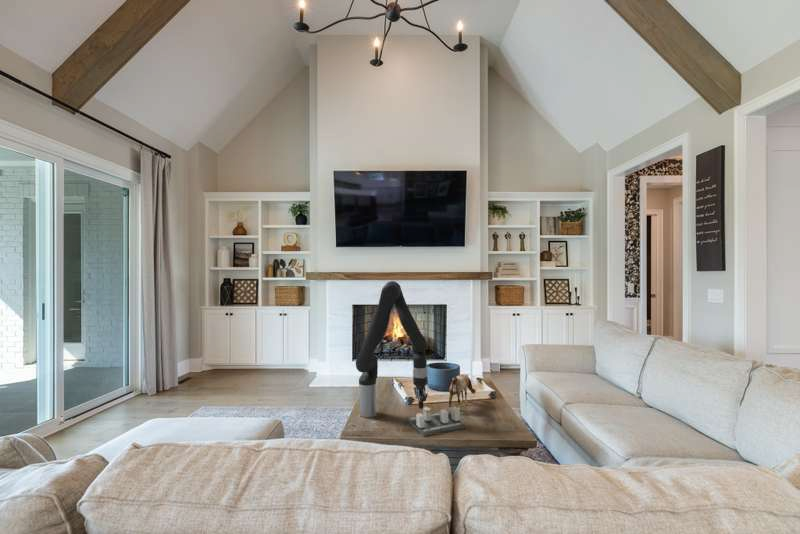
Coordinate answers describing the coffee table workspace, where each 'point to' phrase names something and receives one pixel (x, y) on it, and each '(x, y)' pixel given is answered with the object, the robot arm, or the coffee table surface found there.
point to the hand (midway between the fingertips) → (421, 408)
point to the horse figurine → (460, 389)
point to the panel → (436, 425)
